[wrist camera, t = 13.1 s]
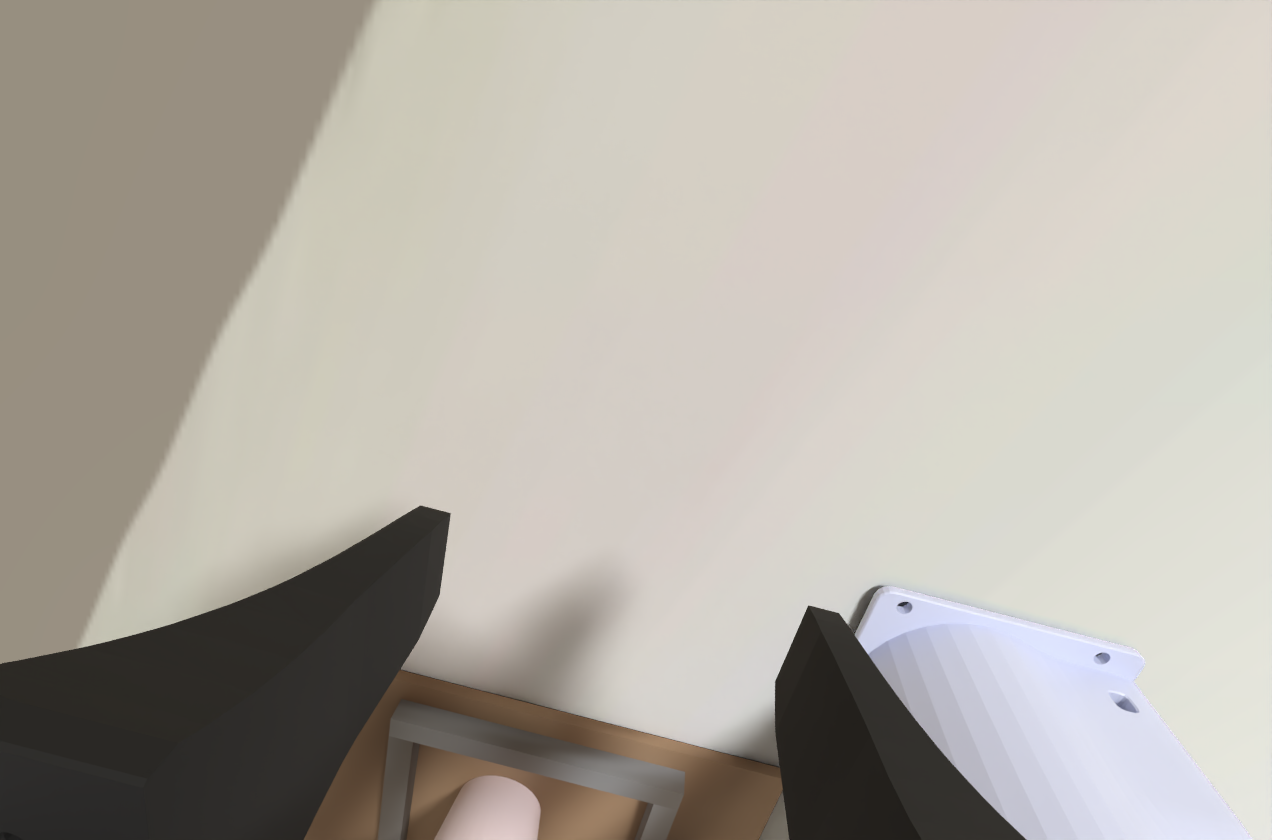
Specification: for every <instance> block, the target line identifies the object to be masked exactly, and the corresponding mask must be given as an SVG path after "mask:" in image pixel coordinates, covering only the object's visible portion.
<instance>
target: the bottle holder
mask: <svg viewBox="0 0 1272 840" xmlns="http://www.w3.org/2000/svg"><path fill="white" fill-rule="evenodd" d="M481 776H501V777H506V778H509V779H512V780H514V781H517V782H519V783H520V784H522V785H524V786H525V787H527V788H528V789H529V790H530V791H531V792H532V793H533V794H534V795H535V797H536V798H537V800H538V802H539V805H540V810H541V813H540V821H539V829H538V837H537V840H759V838H760V835H761V833H762V831H763V829H764V827H765V825H766V823H767V821H768V819H769V817H770V815H771V813H772V811H773V809H774V807H775V805H776V803H777V801H778V798H779V796H780V794H781V792H782V790H783V787H782V780H781V773H780V768H779V767H775V766H771V765H767V764H763V763H760V762H756V761H752V760H748V759H744V758H740V757H736V756H732V755H729V754H725V753H721V752H717V751H713V750H709V749H705V748H701V747H697V746H694V745H690V744H686V743H682V742H678V741H674V740H670V739H666V738H662V737H659V736H655V735H651V734H647V733H643V732H639V731H635V730H631V729H628V728H624V727H620V726H616V725H612V724H608V723H604V722H600V721H596V720H593V719H589V718H585V717H581V716H577V715H573V714H569V713H565V712H562V711H558V710H554V709H550V708H546V707H542V706H538V705H534V704H530V703H527V702H523V701H519V700H515V699H511V698H507V697H503V696H499V695H495V694H492V693H488V692H484V691H480V690H476V689H472V688H468V687H464V686H461V685H457V684H453V683H449V682H445V681H441V680H437V679H433V678H429V677H426V676H422V675H418V674H414V673H410V672H406V671H402V670H399V672H398V673H397V675H396V677H395V678H394V680H393V681H392V683H391V684H390V686H389V688H388V689H387V691H386V692H385V694H384V695H383V697H382V699H381V700H380V702H379V703H378V705H377V706H376V708H375V710H374V711H373V713H372V714H371V716H370V717H369V719H368V721H367V722H366V724H365V725H364V727H363V729H362V730H361V732H360V733H359V735H358V736H357V738H356V740H355V741H354V743H353V745H352V747H351V748H350V750H349V752H348V754H347V755H346V757H345V759H344V760H343V762H342V764H341V766H340V768H339V770H338V772H337V774H336V776H335V778H334V780H333V782H332V784H331V786H330V788H329V790H328V792H327V794H326V796H325V798H324V800H323V802H322V804H321V806H320V808H319V810H318V812H317V814H316V816H315V818H314V820H313V822H312V824H311V826H310V828H309V830H308V832H307V834H306V836H305V838H304V840H434V839H435V837H436V835H437V833H438V831H439V829H440V828H441V826H442V824H443V822H444V820H445V818H446V816H447V814H448V813H449V811H450V809H451V807H452V805H453V803H454V801H455V799H456V797H457V796H458V794H459V792H460V790H461V788H462V787H463V786H464V784H466V783H467V782H468V781H470V780H472V779H474V778H477V777H481Z"/></svg>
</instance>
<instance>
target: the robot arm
mask: <svg viewBox="0 0 1272 840" xmlns="http://www.w3.org/2000/svg"><path fill="white" fill-rule="evenodd" d="M450 514H451V513H447V512H443V511H440V510H436V509H432V508H428V507H424V506H419V507H417V508H415V509H414V510H412V511H410V512H408V513H407V514H405V515H403V516H402V517H400V518H399V519H397V520H395V521H394V522H392V523H390V524H389V525H387V526H386V527H384V528H382V529H381V530H379V531H377V532H376V533H374V534H372V535H371V536H369V537H367V538H366V539H364V540H362V541H361V542H359V543H357V544H355V545H354V546H352V547H350V548H348V549H347V550H345V551H343V552H341V553H340V554H338V555H336V556H334V557H333V558H331V559H329V560H327V561H325V562H323V563H321V564H319V565H317V566H315V567H313V568H311V569H309V570H307V571H306V572H304V573H302V574H300V575H298V576H296V577H294V578H292V579H290V580H287V581H285V582H283V583H281V584H279V585H276V586H274V587H272V588H270V589H267V590H265V591H262V592H260V593H258V594H255V595H253V596H250V597H248V598H245V599H243V600H240V601H238V602H235V603H233V604H230V605H227V606H224V607H221V608H218V609H215V610H212V611H210V612H207V613H204V614H201V615H198V616H195V617H192V618H189V619H186V620H183V621H180V622H177V623H174V624H171V625H168V626H164V627H161V628H157V629H154V630H150V631H147V632H143V633H140V634H136V635H132V636H128V637H124V638H120V639H116V640H112V641H109V642H105V643H100V644H96V645H92V646H88V647H83V648H78V649H73V650H69V651H64V652H59V653H54V654H49V655H44V656H39V657H35V658H29V659H24V660H19V661H13V662H7V663H2V664H0V840H304V838H305V836H306V834H307V832H308V830H309V828H310V826H311V824H312V822H313V820H314V818H315V816H316V814H317V812H318V810H319V808H320V806H321V804H322V802H323V800H324V798H325V796H326V794H327V792H328V790H329V788H330V786H331V784H332V782H333V780H334V778H335V776H336V774H337V772H338V770H339V768H340V766H341V764H342V762H343V760H344V759H345V757H346V755H347V754H348V752H349V750H350V748H351V747H352V745H353V743H354V741H355V740H356V738H357V736H358V735H359V733H360V732H361V730H362V729H363V727H364V725H365V724H366V722H367V721H368V719H369V717H370V716H371V714H372V713H373V711H374V710H375V708H376V706H377V705H378V703H379V702H380V700H381V699H382V697H383V695H384V694H385V692H386V691H387V689H388V688H389V686H390V684H391V683H392V681H393V680H394V678H395V677H396V675H397V673H398V672H399V670H400V669H401V667H402V665H403V664H404V662H405V661H406V659H407V657H408V656H409V654H410V653H411V651H412V649H413V648H414V646H415V645H416V643H417V641H418V640H419V638H420V635H421V633H422V631H423V629H424V627H425V625H426V623H427V621H428V619H429V617H430V615H431V612H432V610H433V608H434V606H435V604H436V602H437V599H438V597H439V595H440V588H441V580H442V573H443V566H444V558H445V551H446V544H447V536H448V529H449V522H450ZM901 602H909V603H908V604H907V605H905V606H897V605H898V604H899V603H901ZM1099 653H1102V654H1101V655H1098V656H1096V655H1097V654H1099ZM1144 666H1145V659H1144V658H1143V657H1142V656H1141V654H1140V653H1139V652H1138V651H1137V650H1136V649H1134V648H1131V647H1127V646H1123V645H1119V644H1115V643H1111V642H1108V641H1104V640H1100V639H1096V638H1092V637H1088V636H1084V635H1080V634H1076V633H1073V632H1069V631H1065V630H1061V629H1057V628H1053V627H1049V626H1045V625H1042V624H1038V623H1034V622H1030V621H1026V620H1022V619H1018V618H1014V617H1010V616H1007V615H1003V614H999V613H995V612H991V611H987V610H983V609H979V608H975V607H972V606H968V605H964V604H960V603H956V602H952V601H948V600H944V599H941V598H937V597H933V596H929V595H925V594H921V593H917V592H913V591H909V590H906V589H902V588H898V587H894V586H885V587H881V588H880V589H878V590H877V591H876V592H875V594H874V595H873V597H872V599H871V602H870V604H869V606H868V608H867V610H866V612H865V614H864V616H863V618H862V620H861V622H860V624H859V626H858V628H857V630H856V633H855V635H854V634H853V632H852V631H851V629H850V628H849V626H848V625H847V624H846V622H845V621H844V620H843V618H842V617H841V616H840V614H839V613H836V612H832V611H828V610H824V609H820V608H816V607H812V606H808V608H807V610H806V612H805V615H804V617H803V619H802V621H801V624H800V626H799V628H798V631H797V633H796V635H795V637H794V640H793V642H792V644H791V647H790V649H789V651H788V654H787V656H786V658H785V660H784V663H783V665H782V667H781V670H780V672H779V674H778V677H777V679H776V681H775V732H776V741H777V749H778V757H779V765H780V773H781V780H782V787H783V795H784V802H785V810H786V817H787V824H788V832H789V839H790V840H1253V839H1252V838H1251V836H1250V835H1249V833H1248V831H1247V830H1246V829H1245V827H1244V826H1243V824H1242V823H1241V822H1240V820H1239V819H1238V818H1237V816H1236V815H1235V814H1234V812H1233V811H1232V810H1231V809H1230V807H1229V806H1228V805H1227V803H1226V802H1225V801H1224V799H1223V798H1222V797H1221V795H1220V794H1219V793H1218V791H1217V790H1216V789H1215V787H1214V786H1213V785H1212V784H1211V782H1210V781H1209V780H1208V778H1207V777H1206V776H1205V774H1204V773H1203V772H1202V770H1201V769H1200V768H1199V766H1198V765H1197V764H1196V762H1195V761H1194V760H1193V759H1192V757H1191V756H1190V755H1189V753H1188V752H1187V751H1186V749H1185V748H1184V747H1183V745H1182V744H1181V743H1180V741H1179V740H1178V739H1177V737H1176V736H1175V735H1174V733H1173V732H1172V731H1171V730H1170V728H1169V727H1168V726H1167V724H1166V723H1165V722H1164V720H1163V719H1162V718H1161V716H1160V715H1159V714H1158V712H1157V711H1156V710H1155V708H1154V707H1153V706H1152V705H1151V703H1150V702H1149V701H1148V699H1147V698H1146V697H1145V695H1144V694H1143V693H1142V691H1141V690H1140V689H1139V687H1138V686H1137V685H1136V683H1135V682H1134V680H1135V679H1136V678H1137V676H1138V675H1139V674H1140V672H1141V671H1142V670H1143V668H1144Z"/></svg>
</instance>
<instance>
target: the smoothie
mask: <svg viewBox="0 0 1272 840" xmlns="http://www.w3.org/2000/svg"><path fill="white" fill-rule="evenodd" d="M540 813H541V810H540V805H539V802H538V800H537V798H536V797H535V795H534V794H533V793H532V792H531V791H530V790H529V789H528V788H527V787H525V786H524V785H522V784H520V783H519V782H517V781H514V780H512V779H509V778H506V777H501V776H481V777H477V778H474V779H472V780H470V781H468V782H467V783H466V784H464V786H463V787H462V788H461V790H460V792H459V794H458V796H457V797H456V799H455V801H454V803H453V805H452V807H451V809H450V811H449V813H448V814H447V816H446V818H445V820H444V822H443V824H442V826H441V828H440V829H439V831H438V833H437V835H436V837H435V839H434V840H537V837H538V829H539V821H540Z"/></svg>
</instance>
